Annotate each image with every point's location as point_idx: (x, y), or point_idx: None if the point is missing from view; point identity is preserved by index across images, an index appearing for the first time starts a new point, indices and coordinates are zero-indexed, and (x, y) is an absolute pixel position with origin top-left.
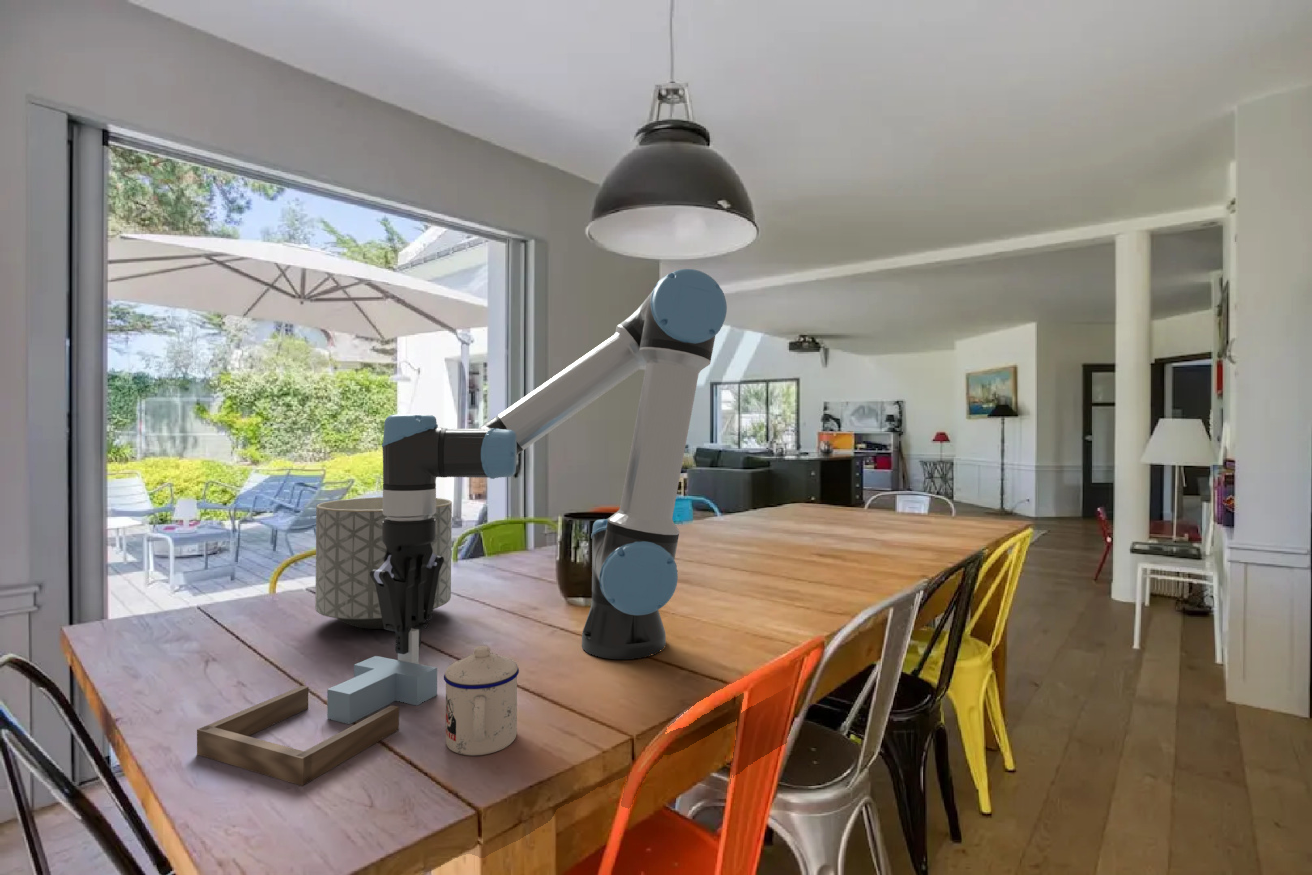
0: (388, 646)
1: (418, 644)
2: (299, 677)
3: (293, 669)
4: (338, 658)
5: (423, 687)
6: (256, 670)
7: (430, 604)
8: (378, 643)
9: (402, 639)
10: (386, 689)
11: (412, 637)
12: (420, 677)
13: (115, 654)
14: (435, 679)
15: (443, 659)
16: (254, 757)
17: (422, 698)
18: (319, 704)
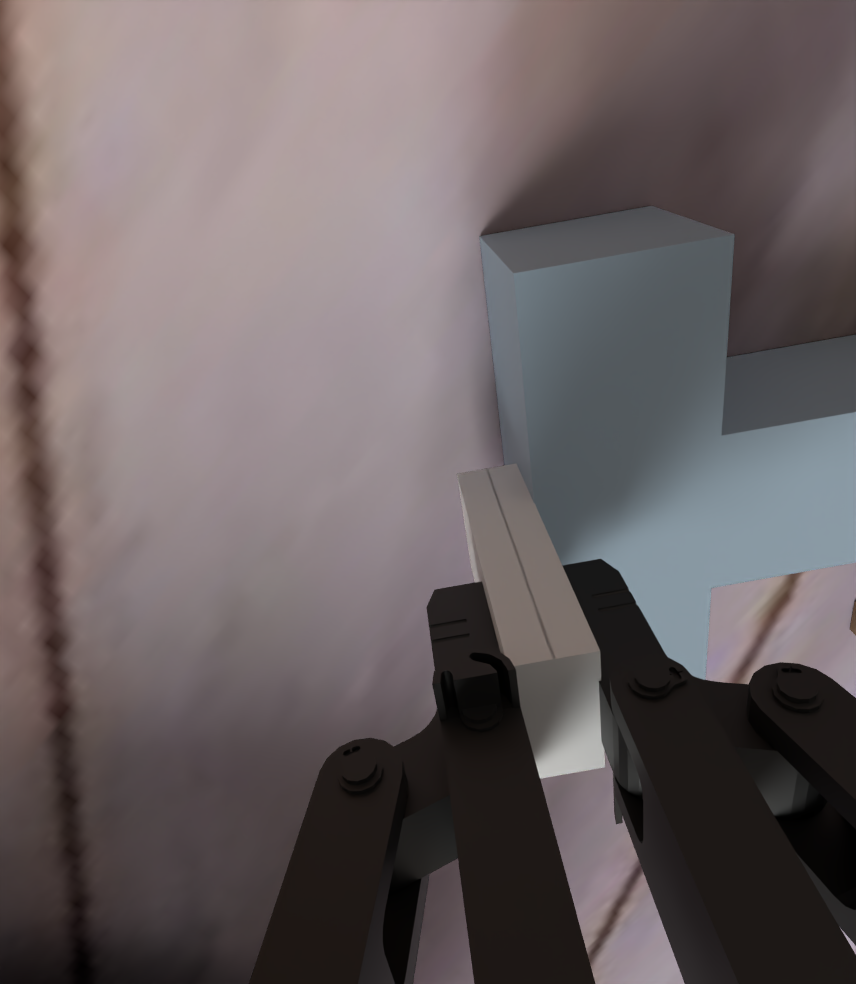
0: (217, 892)
1: (486, 579)
2: (631, 845)
3: (587, 907)
4: (430, 901)
5: (632, 227)
6: (648, 956)
7: (336, 904)
8: (227, 933)
9: (650, 636)
10: (758, 390)
11: (575, 617)
12: (692, 239)
13: None
14: (513, 253)
15: (118, 627)
16: None
17: (615, 217)
18: (806, 602)
